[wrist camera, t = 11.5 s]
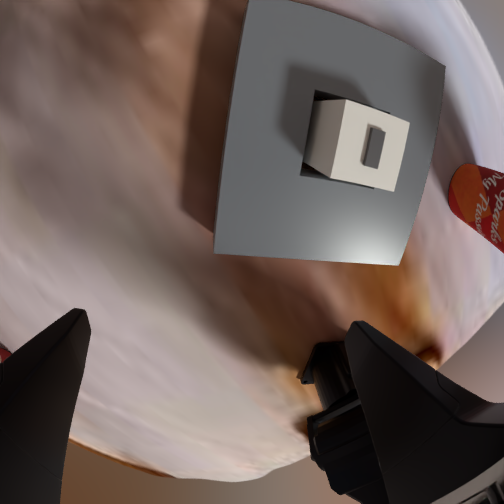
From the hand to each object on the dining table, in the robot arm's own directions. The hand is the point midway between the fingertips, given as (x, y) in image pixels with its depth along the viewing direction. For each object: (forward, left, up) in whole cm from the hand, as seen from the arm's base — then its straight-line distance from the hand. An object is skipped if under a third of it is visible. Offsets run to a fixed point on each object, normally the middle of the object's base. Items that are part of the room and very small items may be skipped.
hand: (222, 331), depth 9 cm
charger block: (+6, -7, -12) cm, 15 cm away
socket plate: (+6, -7, -12) cm, 15 cm away
